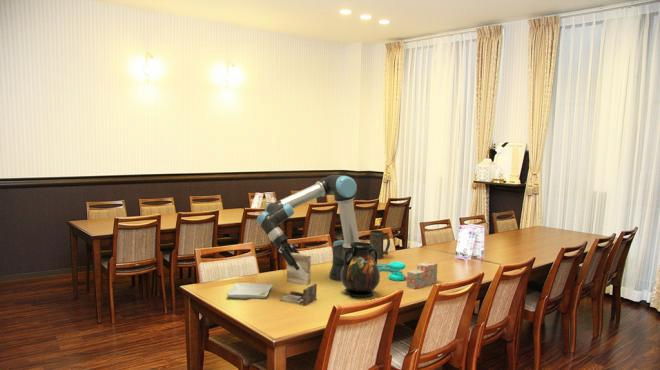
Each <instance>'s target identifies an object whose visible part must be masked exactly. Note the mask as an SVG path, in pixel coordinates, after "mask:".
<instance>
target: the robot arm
mask: <svg viewBox="0 0 660 370" xmlns="http://www.w3.org/2000/svg"><path fill="white" fill-rule="evenodd" d="M357 187H358V186H357V183H356V181H355V180H354V178H352V177H351V176H348V175H340V174H332V175H328V176H326V177H323V178H321V179H320V180H317V181H316V182H315V184H313V185H311V186H308V187H306V188H303V189H301V190H300V191H297V192H294V193H293V194H290V195H289V196H286V197H283V198H281V199H279V200H277V201H274V202H269V203H267V204H265V206H264V211H263V212H262V213H260V214H259V215H258V216H257V218H256V222H257V224H258V225H259V227H260V228H261V229H262V230H263V231H264V233H265V234H266V235H267V236H268V238H269V240H270V241H271V242H272V244H273V245H274V246H275V247H276V248H277V249H278V250H277V253H278V254H280V255H281V256H282V258H283V259H284V260H285V263H286V264H287V263H288V264H289V265H290V266H291V267H292V266H294V267H295V269H296V270H297V271H298V272H299V274H300V275H301V276H302V275H303V274H304V273H305V271H304V270H303V269H302V268H301V266H300V265H299V264H298V262H297V263H296V261H295V260H294V258H293V256H292V255H291V253H299V254H301V253H300V252H299V251H298V249H297V248H296V246H295V244H294V243H292V244H290V242H288V240H289V238H288V236H286V233H284V232H283V230H282V229H281V228H280V227H279V225H280V224H282V223H283V222H285V221H287V220H288V219H289V218H291V217H293V215H294V214H295V211H294V209H296V208H297V207H301V206H302V205H304V204H306V203H309V202H311V201H313V200H315V199H317V198H319V197H326V196H328V195H333V197H334V202H336V203H337V205H338V212H339V217H340V223H341V229H342V235H343V240H340V239H339V240H335V241H333V243H332V263H331V264H332V266H331V268H330V271H329V275H328V277H329V279H330V280H333V281H339V282H341V270H342V267H343V265H344V254H345V251H346V250H347V249H351V250H353V248H352V247H350V243H353V242H362V241H361V240H360V239H359V238H360V237H359V231H358V225H357V220H356V214H355V207H354V202H353V201H354V199H355V198H356V196H355V195H356V192H357ZM351 255H352V253H351V251H350V252H348V254H347V259H348V258H349V257H350V256H351Z"/></svg>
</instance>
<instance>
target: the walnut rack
mask: <svg viewBox="0 0 660 370" xmlns="http://www.w3.org/2000/svg"><path fill="white" fill-rule="evenodd" d="M286 294H288V295H294V296H300V297H302V299H303V303H302V304H300V305H299V304H297V305H298V306H303V307H307V306H309V305H310V304H312V303H313V302H315V301H317V300H318V299H317V283H314V284H311V285H309V286H307V287H306V288H304V289H303V291H302V292H297V291H294V290H293V291H290V293H285V294H284V296H285V295H286ZM279 302H284V301H283V298H282V299H280V300H279ZM284 303H285V302H284ZM287 303H288V304H290V303H289V302H287ZM292 304H294V303H292ZM294 305H295V304H294Z"/></svg>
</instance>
